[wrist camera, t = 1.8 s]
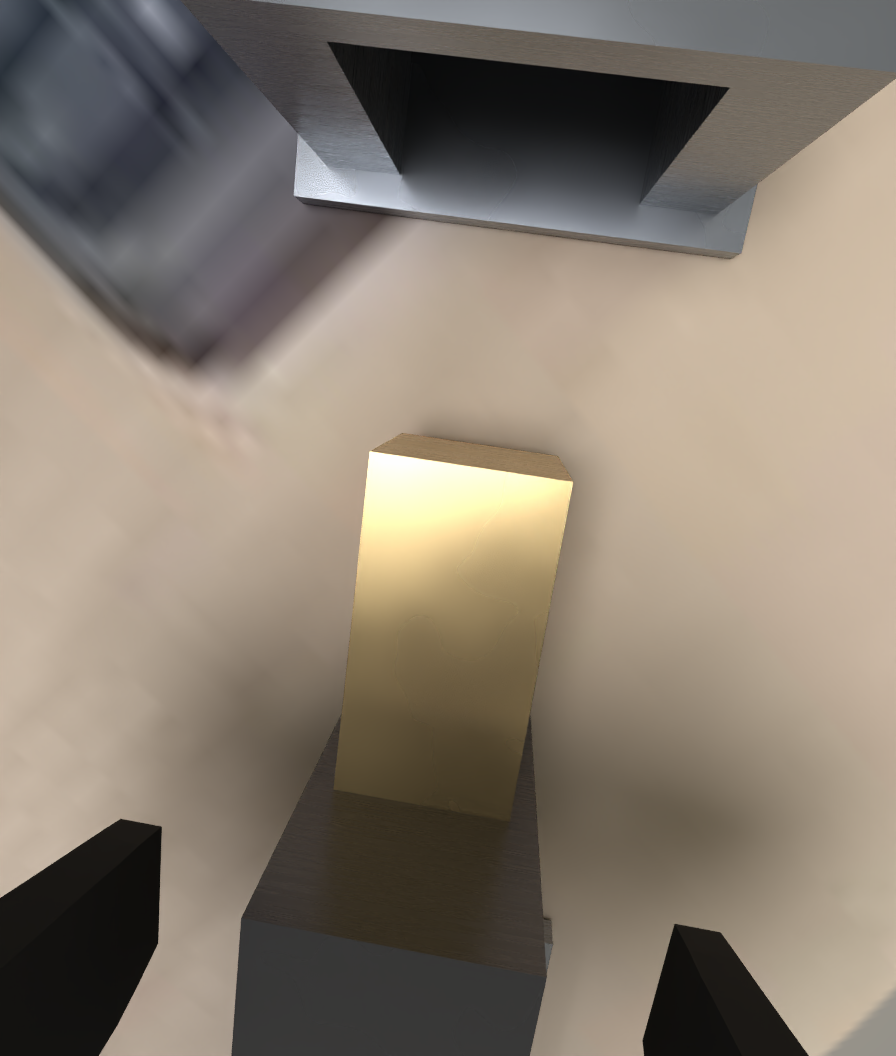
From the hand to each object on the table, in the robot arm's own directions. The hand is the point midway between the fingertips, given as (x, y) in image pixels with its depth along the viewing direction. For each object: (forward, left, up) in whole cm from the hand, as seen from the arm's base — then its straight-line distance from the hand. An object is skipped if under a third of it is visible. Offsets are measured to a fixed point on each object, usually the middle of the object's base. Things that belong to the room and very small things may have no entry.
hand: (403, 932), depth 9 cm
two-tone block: (-2, +1, -4) cm, 4 cm away
